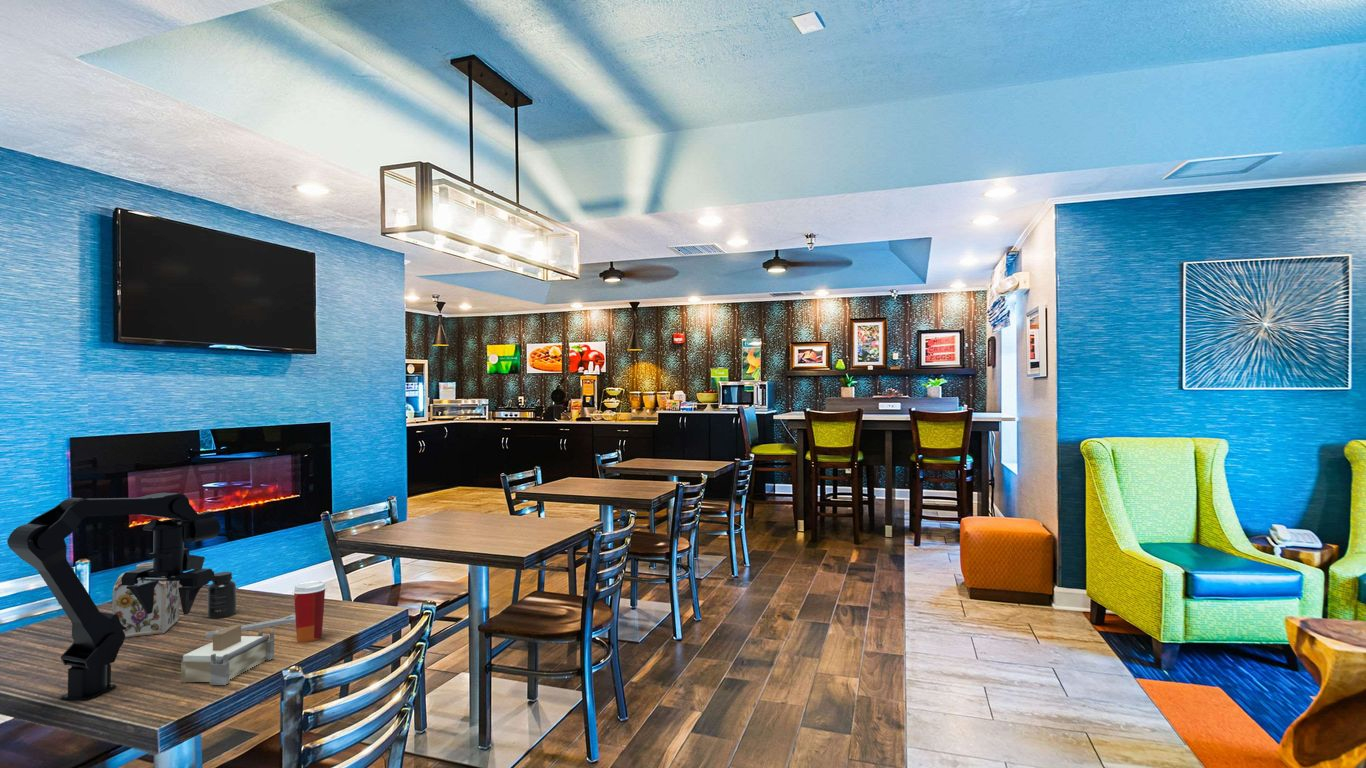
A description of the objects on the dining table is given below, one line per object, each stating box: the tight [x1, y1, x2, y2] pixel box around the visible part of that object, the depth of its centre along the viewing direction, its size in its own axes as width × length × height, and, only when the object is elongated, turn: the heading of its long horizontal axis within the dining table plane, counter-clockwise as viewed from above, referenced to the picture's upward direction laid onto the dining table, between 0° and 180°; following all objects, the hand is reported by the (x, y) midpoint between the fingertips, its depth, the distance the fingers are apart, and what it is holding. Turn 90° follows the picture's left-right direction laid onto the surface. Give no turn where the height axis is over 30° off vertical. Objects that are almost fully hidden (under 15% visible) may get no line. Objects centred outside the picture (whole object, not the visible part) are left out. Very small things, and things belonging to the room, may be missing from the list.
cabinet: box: [180, 630, 275, 686], centre depth 152 cm, size 15×11×6 cm
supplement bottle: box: [207, 571, 237, 619], centre depth 192 cm, size 7×7×12 cm
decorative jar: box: [111, 561, 180, 639], centre depth 180 cm, size 12×12×18 cm
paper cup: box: [292, 580, 327, 644], centre depth 172 cm, size 8×8×14 cm
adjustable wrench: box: [205, 613, 296, 639], centre depth 182 cm, size 25×6×2 cm, turn 123°
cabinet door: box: [182, 624, 270, 664], centre depth 152 cm, size 15×10×5 cm
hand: (168, 613), depth 155 cm, fingers open, 9 cm apart
